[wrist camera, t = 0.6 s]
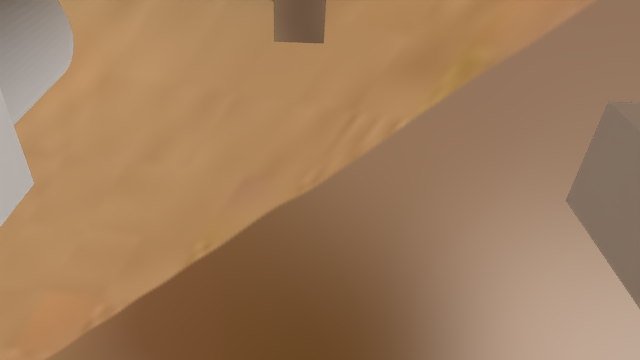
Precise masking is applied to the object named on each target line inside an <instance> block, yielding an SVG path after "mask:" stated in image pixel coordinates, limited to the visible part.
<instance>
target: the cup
mask: <svg viewBox="0 0 640 360" xmlns="http://www.w3.org/2000/svg"><path fill="white" fill-rule="evenodd" d="M73 49H74V41H73V34H72V29H71V26H70V23H69V20H68V18H67V16H66V14H65V12H64V10H63V8H62V7H61V5H60V4H59V2H58V1H57V0H0V89H1V92H2V94H3V97H4V100H5V103H6V106H7V109H8V111H9V114H10V117H11V120H12V123H13V125H14V124H15V123H16V122H17V121H18V120H19V119H20V118H21V117H22V116H23V115H24V114H25V113H26V112H27V111H28V110H29V109H30V108H31V107H32V106H33V105H34V104H35V103H36V102H37V101H38V100H39V99H40V98H41V97H42V96H43V95H44V94H45V93H46V92H47V91H48V90H49V89H50V88H51V87H52V86H53V84H54V83H55V82H56V81H57V80H58V79H59V78H60V77H61V76H62V75H63V74H64V73H65V72H66V70H67V69H68V67H69V65H70V63H71V60H72V56H73Z"/></svg>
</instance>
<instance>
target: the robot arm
mask: <svg viewBox="0 0 640 360" xmlns="http://www.w3.org/2000/svg"><path fill="white" fill-rule="evenodd" d="M33 184H34V182H33V179H32V176H31V173H30V171H29V168H28V165H27V162H26V159H25V156H24V154H23V151H22V148H21V145H20V142H19V140H18V137H17V134H16V131H15V128H14V125H13V123H12V120H11V117H10V114H9V111H8V109H7V106H6V103H5V100H4V97H3V94H2V92H1V89H0V226H1V225H2V224H3V223H4V221H5V220H6V219H7V218H8V216H9V215H10V214H11V212H12V211H13V210H14V209H15V207H16V206H17V205H18V203H19V202H20V201H21V200H22V198H23V197H24V196H25V195H26V193H27V192H28V191H29V189H30V188H31V187H32V186H33ZM566 202H567V203H568V204H569V206H570V207H571V209H572V210H573V212H574V213H575V215H576V216H577V217H578V219H579V220H580V222H581V223H582V225H583V226H584V228H585V229H586V231H587V232H588V234H589V235H590V237H591V238H592V240H593V241H594V243H595V244H596V245H597V247H598V248H599V250H600V251H601V253H602V254H603V256H604V257H605V259H606V260H607V262H608V263H609V264H610V266H611V267H612V269H613V270H614V272H615V273H616V275H617V276H618V278H619V279H620V281H621V282H622V283H623V285H624V286H625V288H626V289H627V291H628V292H629V294H630V295H631V297H632V298H633V300H634V301H635V302H636V304H637V305H638V307H639V308H640V103H632V102H630V103H629V102H608V104H607V106H606V108H605V111H604V113H603V115H602V118H601V120H600V122H599V125H598V128H597V129H596V132H595V134H594V136H593V139H592V141H591V143H590V146H589V148H588V150H587V153H586V155H585V157H584V159H583V162H582V164H581V167H580V169H579V171H578V173H577V176H576V178H575V180H574V183H573V185H572V187H571V190H570V192H569V194H568V197H567V199H566Z"/></svg>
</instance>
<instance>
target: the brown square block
mask: <svg viewBox="0 0 640 360" xmlns="http://www.w3.org/2000/svg"><path fill="white" fill-rule="evenodd" d="M325 9H326V0H274V41H277V42H302V43H324V27H325Z"/></svg>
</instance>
